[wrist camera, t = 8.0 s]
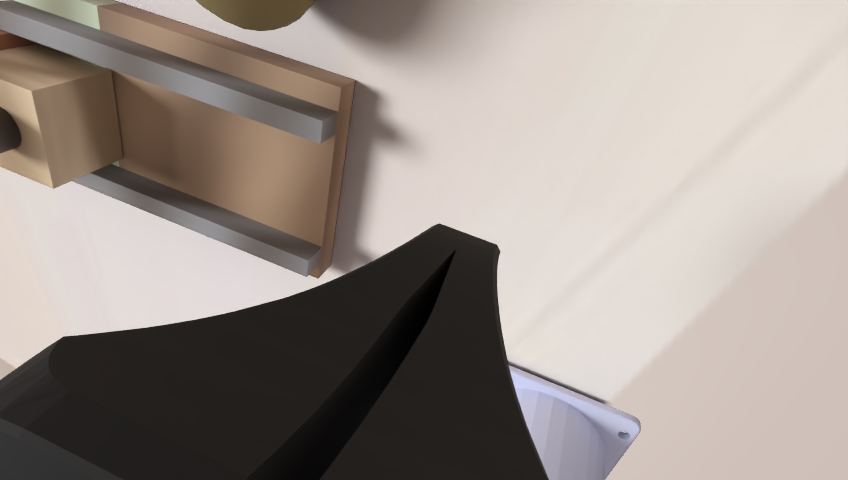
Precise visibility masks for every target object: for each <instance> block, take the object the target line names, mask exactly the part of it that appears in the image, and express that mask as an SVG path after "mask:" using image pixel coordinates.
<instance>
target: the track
mask: <svg viewBox="0 0 848 480" xmlns="http://www.w3.org/2000/svg"><path fill="white" fill-rule="evenodd" d="M33 44H39V45H41V46H44V47H47V48H50V49H52V50H55V51H58V52H61V53H64V54H66V55H69V56H72V57H75V58H78V59H80V60H83V61H86V62H89V63H92V64H94V65H97V66H100V67H103V68H105V69H108V70H111V72H112V79H113V87H114V94H115V101H116V109H117V116H118V124H119V131H120V138H121V146H122V153H123V159H121V160H118V161H116V162H114V163H112V164H109V165H107V166H105V167H102V168H100V169H98V170H95V171H93V172H91V173H88V174H86V175H84V176H82V177H79V178H77V179H75V180H72V181H73V182H76V183H78V184H80V185H83V186H85V187H88V188H90V189H93V190H95V191H98V192H100V193H103V194H105V195H107V196H110V197H112V198H115V199H117V200H120V201H122V202H125V203H127V204H129V205H132V206H134V207H137V208H139V209H142V210H144V211H147V212H149V213H152V214H154V215H156V216H159V217H161V218H164V219H166V220H169V221H171V222H174V223H176V224H178V225H181V226H183V227H186V228H188V229H191V230H193V231H196V232H198V233H201V234H203V235H205V236H208V237H210V238H213V239H215V240H218V241H220V242H223V243H225V244H227V245H230V246H232V247H235V248H237V249H240V250H242V251H245V252H247V253H250V254H252V255H254V256H257V257H259V258H262V259H264V260H267V261H269V262H272V263H274V264H276V265H279V266H281V267H284V268H286V269H289V270H291V271H294V272H296V273H299V274H301V275H303V276H306V277H307V276H308V275H311V276H313V277H316V278H319V277H320V276H321V275H322V274H323V273H324V272H325V271H326V270H327V269H328V267H329V266H330V265H331V258H332V250H333V243H334V235H335V228H336V220H337V213H338V205H339V198H340V191H341V183H342V176H343V168H344V161H345V153H346V146H347V138H348V131H349V123H350V116H351V108H352V101H353V94H354V86H355V80H353V79H350V78H347V77H344V76H341V75H338V74H335V73H332V72H329V71H326V70H323V69H320V68H317V67H314V66H311V65H307V64H304V63H301V62H298V61H295V60H292V59H289V58H286V57H283V56H280V55H277V54H274V53H271V52H268V51H265V50H262V49H259V48H256V47H253V46H250V45H247V44H244V43H241V42H238V41H235V40H232V39H229V38H226V37H223V36H220V35H217V34H214V33H211V32H208V31H205V30H202V29H199V28H196V27H193V26H190V25H187V24H184V23H181V22H178V21H174V20H171V19H168V18H165V17H162V16H159V15H156V14H153V13H150V12H147V11H144V10H141V9H138V8H135V7H132V6H129V5H126V4H123V3H120V2H117V1H114V0H6V1H0V50H5V49H10V48H16V47H22V46H27V45H33Z"/></svg>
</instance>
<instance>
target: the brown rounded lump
mask: <svg viewBox="0 0 848 480" xmlns="http://www.w3.org/2000/svg"><path fill="white" fill-rule="evenodd" d="M196 1H197V2H198V3H199V4H201V5H202V6H203V7H204V8H206V9H207V10H209V11H210V12H212V13H213V14H215V15H216V16H218V17H219V18H221V19H223V20H224V21H226V22H229V23H231V24H234V25H236V26H239V27H241V28H243V29H249V30H257V31H266V30H274V29H278V28H281V27H285V26H288V25H290V24H291V23H293V22H295V21H297V20H298V19H300V18H301V17H302V15H303V14H304V13H305V12H306V11H307V10H308V9H309V8H310V6H311V5H312V4H313V2H314V1H315V0H196Z"/></svg>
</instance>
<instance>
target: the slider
mask: <svg viewBox="0 0 848 480" xmlns="http://www.w3.org/2000/svg"><path fill="white" fill-rule="evenodd" d="M121 159H123V153H122V146H121V138H120V131H119V124H118V116H117V109H116V101H115V94H114V87H113V79H112V72H111V70H108V69H105V68H103V67H100V66H97V65H94V64H92V63H89V62H86V61H83V60H80V59H78V58H75V57H72V56H69V55H66V54H64V53H61V52H58V51H55V50H52V49H50V48H47V47H44V46H41V45H39V44H33V45H27V46H22V47H16V48H10V49H5V50H0V167H2V168H5V169H7V170H10V171H12V172H14V173H17V174H19V175H22V176H24V177H27V178H29V179H31V180H34V181H36V182H39V183H41V184H43V185H46V186H48V187H51V188H53V189H54V188H56V187H58V186H61V185H63V184H65V183H68V182H70V181H72V180H75V179H77V178H79V177H82V176H84V175H86V174H88V173H91V172H93V171H95V170H98V169H100V168H102V167H105V166H107V165H109V164H112V163H114V162H116V161H118V160H121Z"/></svg>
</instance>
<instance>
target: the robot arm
mask: <svg viewBox="0 0 848 480" xmlns="http://www.w3.org/2000/svg"><path fill="white" fill-rule="evenodd" d="M499 254H500V250H499V248H498V246H497V245H496V244H493V243H490V242H488V241H485V240H482V239H480V238H477V237H474V236H472V235H469V234H466V233H464V232H461V231H458V230H455V229H453V228H450V227H447V226H445V225H442V224H437V225H434V226H432V227H431V228H429V229H428V230H426V231H424V232H423V233H421V234H420V235H418V236H416V237H415V238H413V239H412V240H410V241H408V242H406V243H405V244H403V245H401V246H400V247H398V248H396V249H394V250H393V251H391V252H389V253H387V254H385V255H383V256H382V257H380V258H378V259H376V260H374V261H372V262H370V263H368V264H366V265H364V266H362V267H360V268H358V269H356V270H354V271H352V272H349V273H347V274H345V275H343V276H341V277H339V278H337V279H334V280H332V281H329V282H327V283H325V284H322V285H320V286H317V287H315V288H312V289H309V290H306V291H304V292H301V293H298V294H295V295H292V296H289V297H286V298H283V299H279V300H276V301H272V302H268V303H265V304H261V305H257V306H253V307H250V308H246V309H242V310H238V311H235V312H230V313H226V314H221V315H217V316H212V317H207V318H202V319H197V320H191V321H185V322H180V323H174V324H168V325H162V326H155V327H148V328H140V329H131V330H123V331H114V332H105V333H96V334H88V335H78V336H66V337H62V338H61V339H59V340H58V341H56V342H55V343H53V344H51V345H50V346H48V347H47V348H46V349H44V350H43V351H41V352H40V353H38V354H37V355H35V356H34V357H32V358H31V359H29V360H28V361H27V362H25V363H24V364H22V365H21V366H20V367H18V368H17V369H15V370H14V371H12V372H11V373H10V374H8V375H7V376H6V377H4V378H2V379H1V380H0V480H605V479H606V478H607V476H608V475H609V473H610V472H611V471H612V469H613V468H614V467H615V465H616V464H617V462H618V461H619V460H620V458H621V457H622V456H623V454H624V453H625V452H626V450H627V449H628V448H629V446H630V445H631V444H632V442H633V441H634V439H635V438H636V437H637V435H638V434H639V433H640V429H641V426H640V421H639V420H638V419H637V418H636V417H634V416H632V415H629V414H627V413H624V412H622V411H620V410H617V409H615V408H612V407H610V406H607V405H605V404H603V403H600V402H598V401H595V400H593V399H590V398H588V397H585V396H583V395H581V394H578V393H576V392H573V391H571V390H568V389H566V388H563V387H561V386H559V385H556V384H554V383H551V382H549V381H546V380H544V379H542V378H539V377H537V376H534V375H532V374H529V373H527V372H524V371H522V370H520V369H517V368H515V367H512V366H510V365H508V360H507V356H506V351H505V346H504V341H503V336H502V330H501V323H500V315H499V305H498V295H497V266H498V258H499ZM621 431H624V432H627V433H623V432H621Z"/></svg>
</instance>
